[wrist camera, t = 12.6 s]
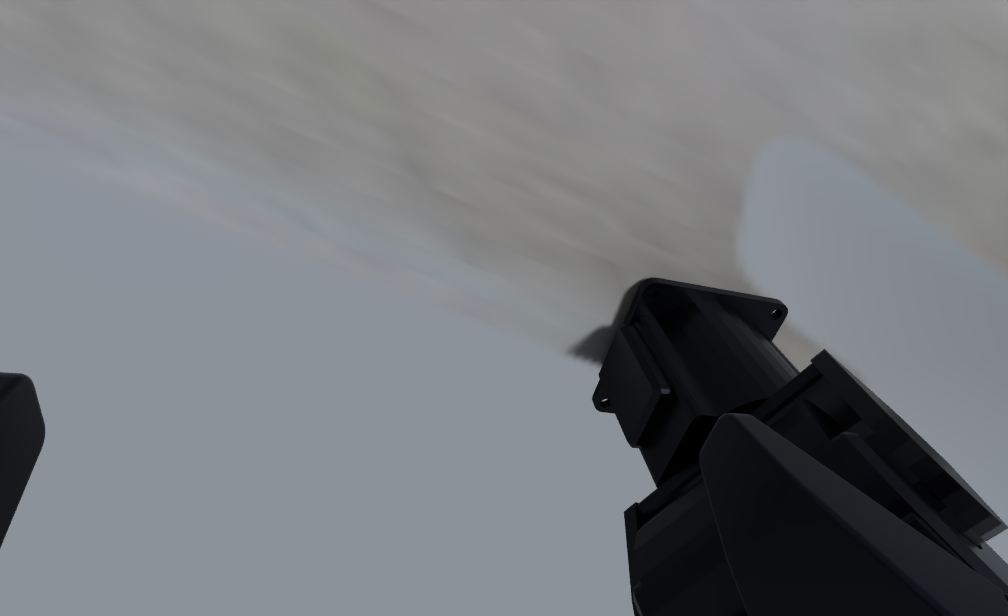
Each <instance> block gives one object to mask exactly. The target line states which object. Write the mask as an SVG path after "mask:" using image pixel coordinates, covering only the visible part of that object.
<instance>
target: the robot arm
mask: <svg viewBox="0 0 1008 616" xmlns="http://www.w3.org/2000/svg"><path fill="white" fill-rule="evenodd" d="M654 288H657V291H656V292H655V293H653V294H649V295H648V293H649V292H650V290H652V289H654ZM774 310H776V311H775V312H774V313H773V314H771V313H772V312H773V311H774ZM787 314H788V309H787V307H786V306H785V305H784V304H783V303H782V302H781V301H780V300H777V299H773V298H767V297H762V296H756V295H751V294H745V293H739V292H734V291H728V290H722V289H717V288H711V287H706V286H700V285H694V284H689V283H683V282H677V281H672V280H666V279H661V278H649V279H646V280H645V281H644V282H642V284H641V285H640V287H639V289H638V291H637V294H636V296H635V298H634V301H633V303H632V305H631V308H630V310H629V312H628V315H627V317H626V319H625V322H624V324H622V325H621V326H620V327H619V328H618V330H617V333H616V335H615V337H614V340H613V342H612V344H611V347H610V349H609V351H608V354H607V356H606V358H605V361H604V363H603V365H602V368H601V370H600V373H599V378H600V380H599V382H598V385H597V387H596V389H595V392H594V394H593V397H592V400H593V403H594V406H595V408H596V409H597V410H598V411H600V412H607V413H615V414H616V417H617V419H618V421H619V424H620V426H621V428H622V431H623V433H624V435H625V437H626V440H627V441H628V443H629V445H630V446H631V447H632V448H639V449H640V451H641V454H642V456H643V458H644V460H645V462H646V465H647V467H648V469H649V471H650V473H651V475H652V478H653V480H654V482H655V484H656V487H657V489H656V490H655V491H654V492H652V493H651V494H650V495H649V496H647V497H646V498H645V499H644V500H642V501H641V502H640V503H637V502H636V503H634V504H633V505H632V506H630V507H629V508H628V509H627V510H626V511H624V518H625V529H626V540H627V550H628V562H629V573H630V584H631V595H632V604H633V609H634V615H635V616H1008V564H1007V563H1006V562H1005V561H1004V560H1002V558H1001V557H1000V556H999V555H998V554H997V553H996V552H995V551H994V550H993V549H992V548H991V547H990V546H989V545H988V544H986V542H985V541H988V540H989V539H991V538H992V537H994V536H996V535H998V534H999V533H1001V532H1002V531H1004V530H1005V529H1007V528H1008V527H1007V525H1006V524H1005V523H1004V522H1003V521H1002V520H1001V519H1000V518H999V517H998V516H997V515H996V513H995V512H994V511H993V510H992V509H991V508H990V507H989V506H988V505H987V504H986V503H985V502H984V501H983V500H982V499H981V497H980V496H979V495H978V494H977V493H976V492H975V491H974V490H973V489H972V488H971V487H970V486H969V485H968V483H967V482H966V481H965V480H964V479H963V478H962V477H961V476H960V475H959V474H958V473H957V472H956V471H955V470H954V468H953V467H952V466H951V465H950V464H949V463H948V462H947V461H946V460H945V459H944V458H943V457H941V456H940V455H939V454H938V453H937V452H936V451H935V450H934V449H933V448H932V447H931V446H930V445H929V444H928V443H927V442H926V441H925V440H924V439H922V437H920V435H918V434H917V433H916V432H915V431H914V430H913V429H912V428H911V427H910V426H909V425H908V424H907V423H906V422H905V421H904V420H903V419H902V418H901V417H900V416H899V415H897V414H896V413H895V412H894V411H893V410H892V409H891V408H890V407H889V406H888V405H886V404H885V403H884V402H883V401H882V400H881V399H880V398H879V397H877V396H876V395H875V394H874V393H873V392H872V391H871V390H870V389H869V388H867V387H866V386H865V385H864V384H863V383H862V382H861V381H860V380H859V379H857V378H856V377H855V376H854V375H853V374H852V373H851V372H850V371H848V370H847V369H846V368H845V367H844V366H843V365H842V364H841V363H839V362H838V361H837V360H836V359H835V358H834V357H833V356H832V355H831V354H829V353H828V352H827V351H826V350H825V349H824V350H823V351H821V352H820V353H819V354H818V355H816V356H815V357H814V358H813V359H811V360H810V361H811V362H812V364H810V365H809V366H808V367H807V368H806V369H804V370H803V371H802V372H801V373H800V372H799V371H798V370H797V369H796V368H795V367H794V365H793V364H792V363H791V362H790V361H789V360H788V359H787V358H786V357H785V356H784V354H783V353H782V352H781V351H780V350H779V349H778V348H777V347H776V346H775V344H774V343H773V342H772V340H773V338H774V337H775V335H776V333H777V332H778V330H779V328H780V326H781V325H782V323H783V321H784V320H785V318H786V316H787ZM604 399H607V400H606V401H603V402H601V401H602V400H604ZM44 438H45V424H44V420H43V416H42V413H41V409H40V405H39V402H38V398H37V395H36V391H35V387H34V384H33V382H32V380H31V379H30V378H29V377H28V376H27V375H24V374H20V373H3V372H0V547H1V545H2V543H3V540H4V538H5V535H6V533H7V531H8V528H9V525H10V523H11V521H12V518H13V516H14V514H15V511H16V509H17V506H18V504H19V502H20V499H21V497H22V494H23V492H24V490H25V487H26V485H27V482H28V480H29V478H30V475H31V473H32V470H33V468H34V466H35V463H36V461H37V458H38V456H39V454H40V451H41V449H42V446H43V443H44Z"/></svg>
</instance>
